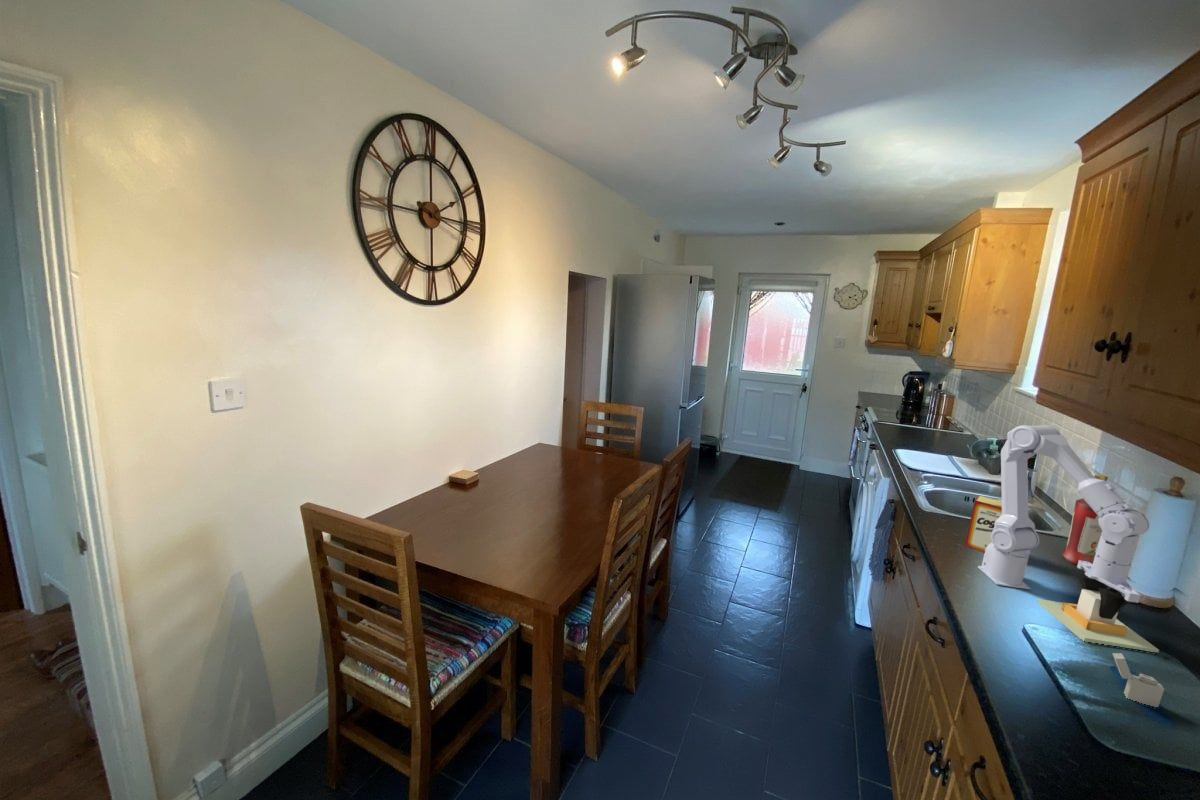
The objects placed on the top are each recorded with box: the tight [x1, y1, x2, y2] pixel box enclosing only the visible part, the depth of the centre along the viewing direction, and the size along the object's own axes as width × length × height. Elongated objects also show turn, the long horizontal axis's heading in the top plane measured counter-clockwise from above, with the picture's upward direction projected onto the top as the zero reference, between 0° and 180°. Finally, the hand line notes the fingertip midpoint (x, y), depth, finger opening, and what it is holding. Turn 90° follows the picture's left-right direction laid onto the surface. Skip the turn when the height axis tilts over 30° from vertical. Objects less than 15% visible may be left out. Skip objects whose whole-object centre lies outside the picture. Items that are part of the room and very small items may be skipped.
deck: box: [1037, 598, 1160, 653], centre depth 112 cm, size 15×14×3 cm
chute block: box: [1076, 588, 1119, 624], centre depth 111 cm, size 4×5×6 cm
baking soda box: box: [964, 495, 1002, 553], centre depth 147 cm, size 10×6×16 cm
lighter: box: [1111, 652, 1165, 708], centre depth 90 cm, size 7×2×8 cm, turn 56°
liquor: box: [1062, 473, 1109, 566], centre depth 141 cm, size 7×7×28 cm
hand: (1097, 611), depth 111 cm, fingers closed on chute block, 4 cm apart
